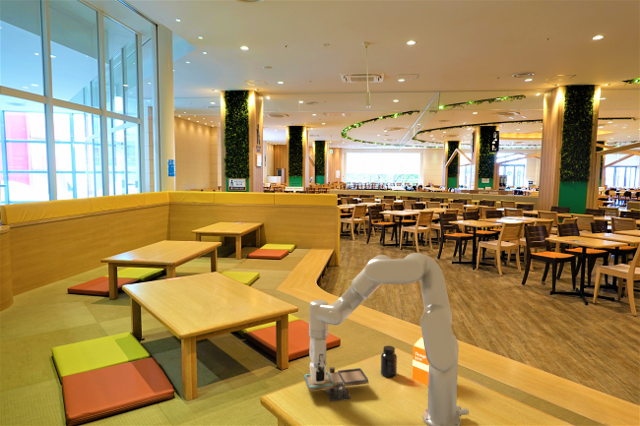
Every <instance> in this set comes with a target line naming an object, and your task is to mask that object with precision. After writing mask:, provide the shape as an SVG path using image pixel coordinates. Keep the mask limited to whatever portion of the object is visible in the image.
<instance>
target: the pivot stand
mask: <svg viewBox="0 0 640 426" xmlns="http://www.w3.org/2000/svg"><path fill="white" fill-rule="evenodd" d="M328 369H329V370H328V371H329V372H328V373H334V372H336V370H335V369H336V368H335V367H334V366H332V367H331V366H330V367H329V368H328ZM324 390H325V392H326V395H327V397H328V399H329V402H331V403H332V402H338V401H345V400H351V398H352V397H351V395H350V394H349V392H348V390H347V388H346V387H343V382H337V388H330V389H324Z"/></svg>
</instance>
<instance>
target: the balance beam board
mask: <svg viewBox="0 0 640 426" xmlns="http://www.w3.org/2000/svg"><path fill="white" fill-rule="evenodd" d="M303 379H304V382H305V384H306V388H307V390H308V392H314V391H321V390H322V391H323V390H325V389H330V388H337V382H343V387H345V388H346V387H353V386H360V385H368V384H369V378H368V377H367V375H366V374H365V372H364V371H363V369H362V368H360V367H357V368H349V369H340V370H337V371H335V372H334V373H329V372H328V371H326V378H325V382H324V383H323V384H314V383H312V382H311V374H310V373H308V374H307V373H306V374H304V375H303Z"/></svg>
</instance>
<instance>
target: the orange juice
mask: <svg viewBox="0 0 640 426" xmlns="http://www.w3.org/2000/svg"><path fill="white" fill-rule="evenodd" d="M428 376H429V362H428V360H427V358H426V354H425V348H424V342H423V336H422V335H420V337H419V338H418V339H417V341H416V342H415V343H414V344H413V346H412V380H413V381H416V382H419V383H421V384H423V385H426V386H428Z"/></svg>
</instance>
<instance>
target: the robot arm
mask: <svg viewBox="0 0 640 426" xmlns="http://www.w3.org/2000/svg"><path fill="white" fill-rule="evenodd" d="M417 282H419V285H420V293H421V297H422V302H423V311H422V314H421V318H420V330H421V336H423V342H424V348H425V354H426V358H427V360H428V362H429V376H428V387H427V388H428V389H427V392H428V393H427V409H425V410H424V411H423V413H422V419H423V421H424V423H425V424H426V425H428V426H461V424H462V423H461V422H462V421H461V417H462V416H466V415H469V413H470V411H469V409H468V408H462V406H461V405H457V396H458V392H457V391H458V372H459V371H458V367H459V347H460V346H459V341H458V339H457V337H456V335H455V334H454V333H453V330H452V328H453V327H452V323H453V315H452V309H451V305H450V299H449V296H448V291H447V285H446V281H445V277H444V273H443V271H442V269H441V267H440V265H439V264H438V263H437V262H436V261H435V260H434V259H433V258H432V257H430V256H429V255H427V254H424V253H422V252H411V253H409V254H408V255H406V256H405V257H404V258H390V256H387V255H386V254H385V255H384V254H378V255H376V256H375V257H373V258H371V259H370V260H369V261H368V262H367V263H366V265H365V267H364V268H363V269H362V270H360V272H359V273H358V274H357V275H356V276H355V277H354V278H353V279H352V280H351V284H350V286H349V287H348V288H347V289H346V290H345V292H344V293H343V294H342V295H341V296H339V298H338V299H336V300H335V301H334V302H333V303H331V304H329V303H328V302H327V301H326V300H323V299H315V300H311V301H310V303H309V305H308V306H309V307H308V309H309V310H308V313H309V315H308V336H309V351H308V352H309V358H310V361H312V362H313V364H314V365H317V371H316V381H317V382H319V381H324V372H325V370H324V367H325V366H324V364H325V363H327V338H328V337H329V325H331V326H339V325H341V324H342V323H344V321H345V320H346V319H347V318H348V317H349V316H350V315H351V314H352V313H354V311H355V310H356V309H357V308H358V307H359V306H360V305H361V304H362V303H363V302H364V301H365V300H367V299H369V298H370V296H372V294H374V292H375V291H376V290H377V289H379V287H380V286H381V285H382V284H383V285H409V284H415V283H417ZM319 361H320V363H318V362H319ZM318 365H320V367H319V366H318Z"/></svg>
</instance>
